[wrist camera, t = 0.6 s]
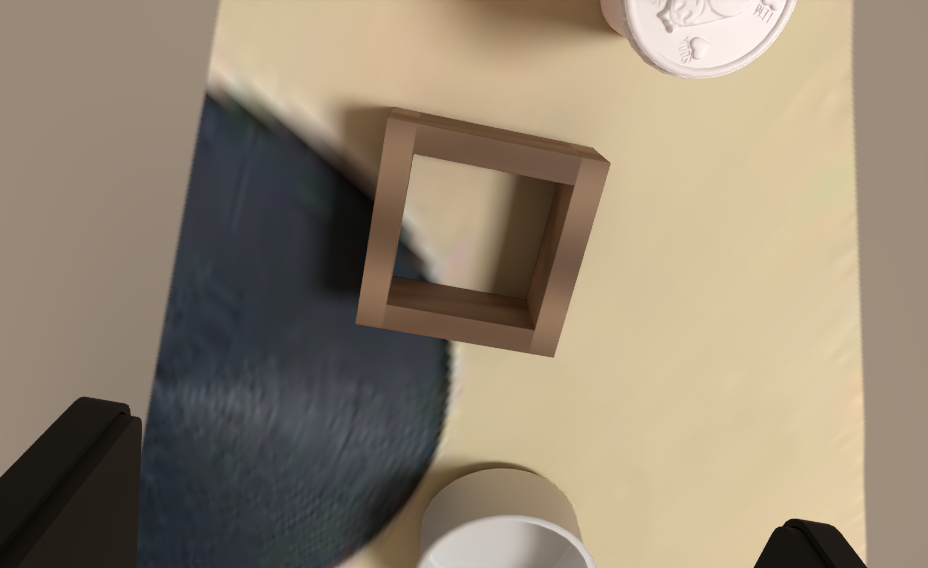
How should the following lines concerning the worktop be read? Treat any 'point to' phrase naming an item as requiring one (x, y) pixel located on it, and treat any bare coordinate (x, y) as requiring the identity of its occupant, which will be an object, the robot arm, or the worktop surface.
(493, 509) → the saucepan
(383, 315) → the wooden frame
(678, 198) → the worktop surface
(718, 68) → the smoothie
